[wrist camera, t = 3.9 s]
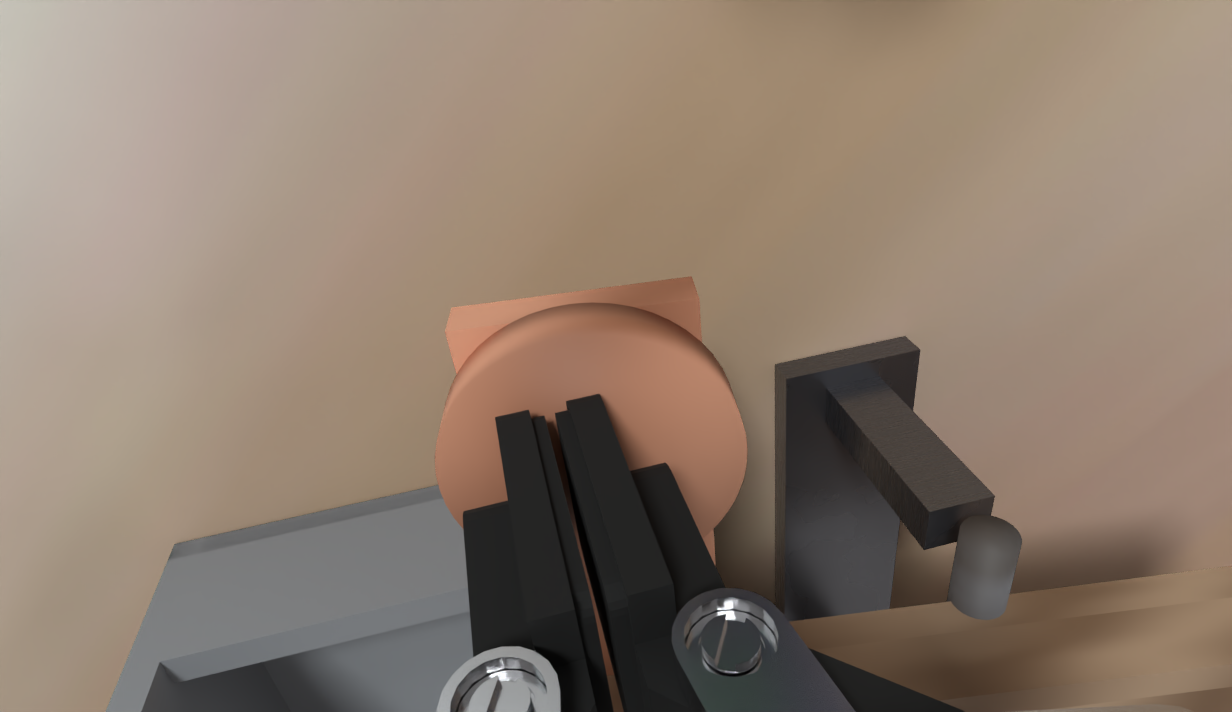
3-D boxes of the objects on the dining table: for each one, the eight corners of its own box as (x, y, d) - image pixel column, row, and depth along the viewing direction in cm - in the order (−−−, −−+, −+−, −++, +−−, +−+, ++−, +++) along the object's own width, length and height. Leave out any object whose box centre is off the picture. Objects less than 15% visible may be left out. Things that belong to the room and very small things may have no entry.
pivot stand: (905, 336, 22) (1047, 463, 17) (871, 656, 30) (961, 809, 24) (775, 364, 21) (881, 504, 16) (775, 682, 29) (847, 844, 24)
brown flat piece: (1675, 122, 13) (1946, 176, 10) (1257, 787, 24) (1339, 891, 21) (424, 284, 13) (391, 377, 10) (587, 870, 24) (589, 983, 21)
